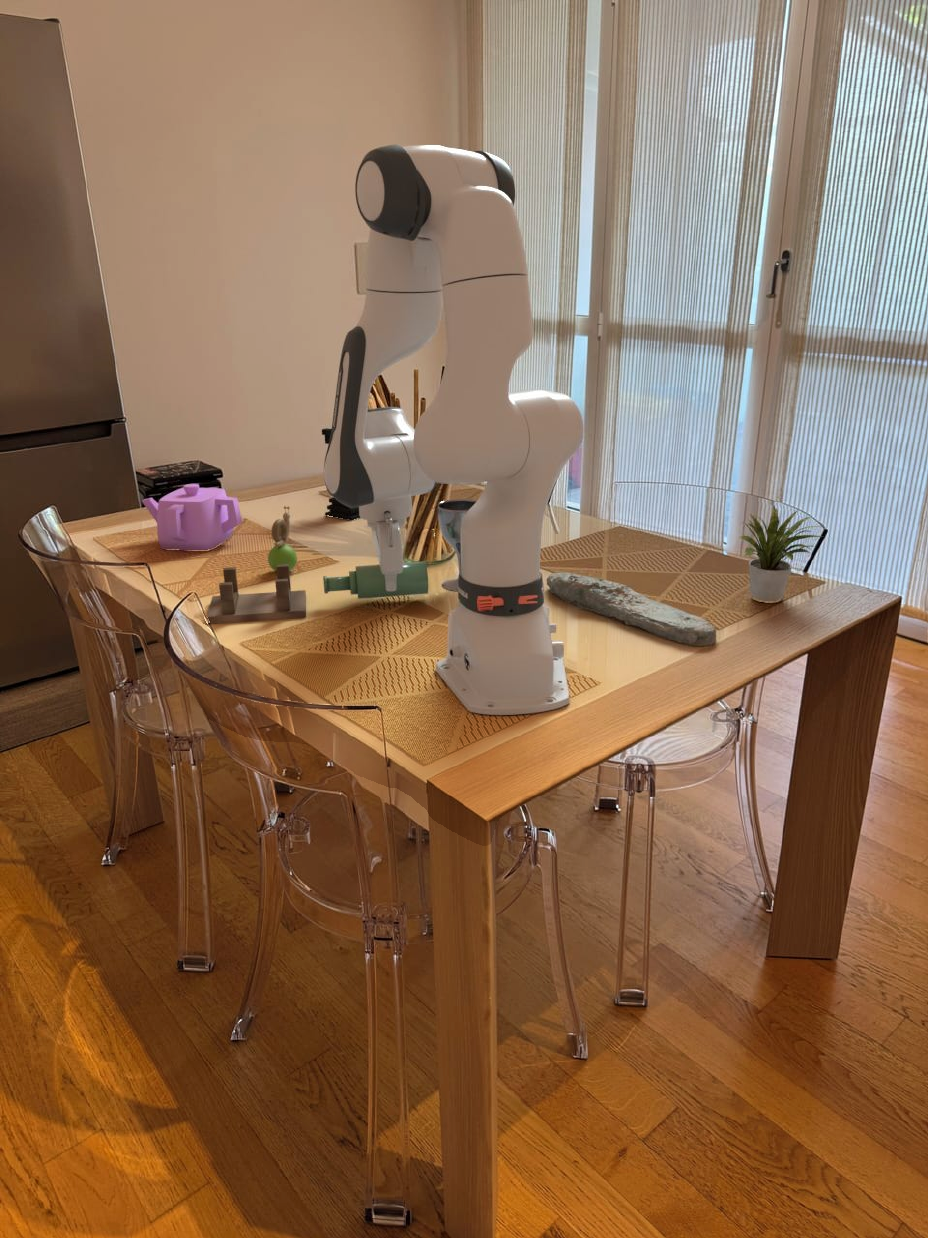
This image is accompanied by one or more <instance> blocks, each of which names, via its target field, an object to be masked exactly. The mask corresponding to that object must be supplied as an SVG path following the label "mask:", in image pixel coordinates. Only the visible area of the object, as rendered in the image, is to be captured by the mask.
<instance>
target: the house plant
mask: <svg viewBox="0 0 928 1238" xmlns="http://www.w3.org/2000/svg"><path fill="white" fill-rule="evenodd" d="M798 511H799V509H797V510H795V511H794V512H793V513H791V515H789V517H788V518H786V519H785V520H784V521H783V523H782V524H781V525H780V518H779V510H778V509H777V508H776V505H774V506H773V509H772V512H771V516H770V520H769V522H768V523H769V524H768V527H767V525H766V523H765V522H764V520H763V519H762V518H761V517H759V516H755V515H752V514H750V513H749V515H750V517H751V519H752V520H753V521H752V520H750V519H748V518H747V520H748V521H749V522H745V521H741V523H742V524H744V525H745V526H746V527H747V528H748V529H749V530H750V532H751V533H752V535H753V536H754V538H755V539H753V537H751V536H749V535H741V536H739V538H740V539H742V540H744V541H745V542H747V543H749V544H751V545H752V546H753V547H754V548H753V547H750V546H747V547H746V548H745V551H744V553H743V554H745V555H744V556H743V558H745V557H746V556H750V555H756V556H757V557H758V558H753V559H750V561H748V573H749V591H750V597H751V596H752V597H753V598H756V599H758V600H763V601H776V600H779V599H781V598H782V597H784V594H785V592H786V589H787V586H788V585H787V584H788V582H789V580H790V579H789V578H790V575H791V571H792V569H793V565H792V564H791V563H790V562H788V561H786V559H787V558H788V559H790V560H791V561H793V560H794V555H793V554H794V553H808V554H810V555H812V553H811V552H810V551H808V549H809V550H811V551H812V549H811V548H810V547H816V546H814V545H805V544H802V543H799V544H798V543H797V544H793V545H790V544H791V543H794V542H796V541H799V540H803V539H809V538H822V537H824V536H822V535H814V534H801V533H806V532H813V531H812V530H807V529H811V528H821V527H822V526H819V525H817V526H815V525H814V526H813V525H812V526H805V527H801V525H802V524H803V522H806V520H808V519H810V518H811V516H808V517H804V518H802V519H800V520H798V521H796V522H795V523H794V524H793V525H791V527H788V525H789V523H790V522H791V520H792V519H793V518H794V516H795V515H796V514H797V512H798ZM757 518H758V519H759V520H760V521H761V522H762V524H763V526H762V525H761V523H760V522H759V520H758V519H757ZM763 527H764V529H765V532H764V529H763ZM800 527H801V528H800ZM799 528H800V529H799ZM752 529H753V530H752ZM804 529H806V530H804ZM798 531H799V532H798ZM754 532H755V533H754ZM796 532H797V533H796ZM765 533H766V534H765ZM794 533H796V534H794ZM793 534H794V535H793ZM799 534H801V535H799ZM792 535H793V536H792ZM790 536H791V537H790ZM797 547H799V548H797ZM793 548H795V549H793ZM805 548H807V549H805ZM755 552H756V553H755ZM782 599H783V598H782Z"/></svg>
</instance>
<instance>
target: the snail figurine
mask: <svg viewBox="0 0 928 1238" xmlns="http://www.w3.org/2000/svg"><path fill="white" fill-rule="evenodd" d="M283 509H284V513H283V514H282V519H281V518H278V519H276V520H275V521H274V522H273V524H272V525H271V538H272V539H273V541H274V546H273V547H272V548H271V549H270V551H269V552H268V555H267V561H268V565H269V567H270V568H271V569H272V570H273V571H275V572H277V565H280V564H289V572H290V571H292V570H294V568H295V567H296V564H297V563H298V556H297V552H296V550H295V549H294V548H293V547H292V546H291V545H289V544H286V543H287V541H288V539H289V535H290V529H291V528H290V527H291V526H290V525H291V524H290V523H291V522H290V517H291V516H290V506H286V505H285V506H283ZM286 509H287V510H288V512H287V510H286Z"/></svg>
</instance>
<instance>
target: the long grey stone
mask: <svg viewBox="0 0 928 1238" xmlns="http://www.w3.org/2000/svg"><path fill="white" fill-rule="evenodd" d="M546 585H547V586H548V587H549V591H550V593H551V594H552V593H553V594H555V595H556V596H558V597H559V598H560V599H562V600H563V601H564V602H568V603H569V604H572V605H575V607H577V608H576V609H580V610H585V611H586V612H594V613H596V614H598V615H600V616H601V615H602V616H605V617H607V618H609V617H610V618H615V619H617V620H619V621H621V622H624V624H625V625H628V626H632V627H633V626H634V627H638V628H639V629H642V630H644V631H647V632H648V633H651V634H653V635H655V636H657V637H659V638H660V637H661V638H663V639H665V640H668V641H673V642H677V643H678V644H684V645H689V646H694V647H706V646H711V645H714V644H715V643H716V642H717V629H716V628H715V627H714V626H713V625H712V624H711V623H710V622H708V621H707V620H706V619H704V618H702V617H700V616H698V615H695V614H691V613H688V612H686V611H684V610H681V609H679V608H677V607H673V606H671V605H669V604H667V603H663V602H660V601H657V600H654V599H650V598H649V597H647V596H645V595H644V594H641V593H639V592H636V591H635V590H634V589H633V588H631V587H630V586H628V585H627V584H622V583H619V582H614V581H610V580H607V579H606V578H605V579H604V578H603V577H601V578H596V577H592V576H587V575H581V574H575V573H572V572H554V573H551V574H550V575H549V576H548V577H547V578H546Z"/></svg>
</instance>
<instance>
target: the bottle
mask: <svg viewBox="0 0 928 1238" xmlns="http://www.w3.org/2000/svg"><path fill="white" fill-rule="evenodd" d="M322 578H323V591H324V594H326V595H327V594H329V592H331V593H332V592H343V591H344V592H345V591H349V593H350V596H352V595H354V596H355V595H357V599H358V600H360V599H374V598H376V599H377V598H386V597H387V598H389V597H391V598H392V597H401V596H404V597H405V596H414V595H415V596H417V595H428V594H429V574H428V567H427V562H426V561H414V562H413V561H412V562H403V572H402V573H400V574H397V579H396V586H397V589H396V591H389V592H388V591H387V590H386V586H385V575H384V574H382V573H381V569H380V565H379V564H371V565H370V564H368V565H356V566H355V570H352V571H348V575H347V576H346V575H345V576H344V575H343V576H332V577H331V576H330V577H328V576H327V575H323V576H322Z"/></svg>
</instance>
